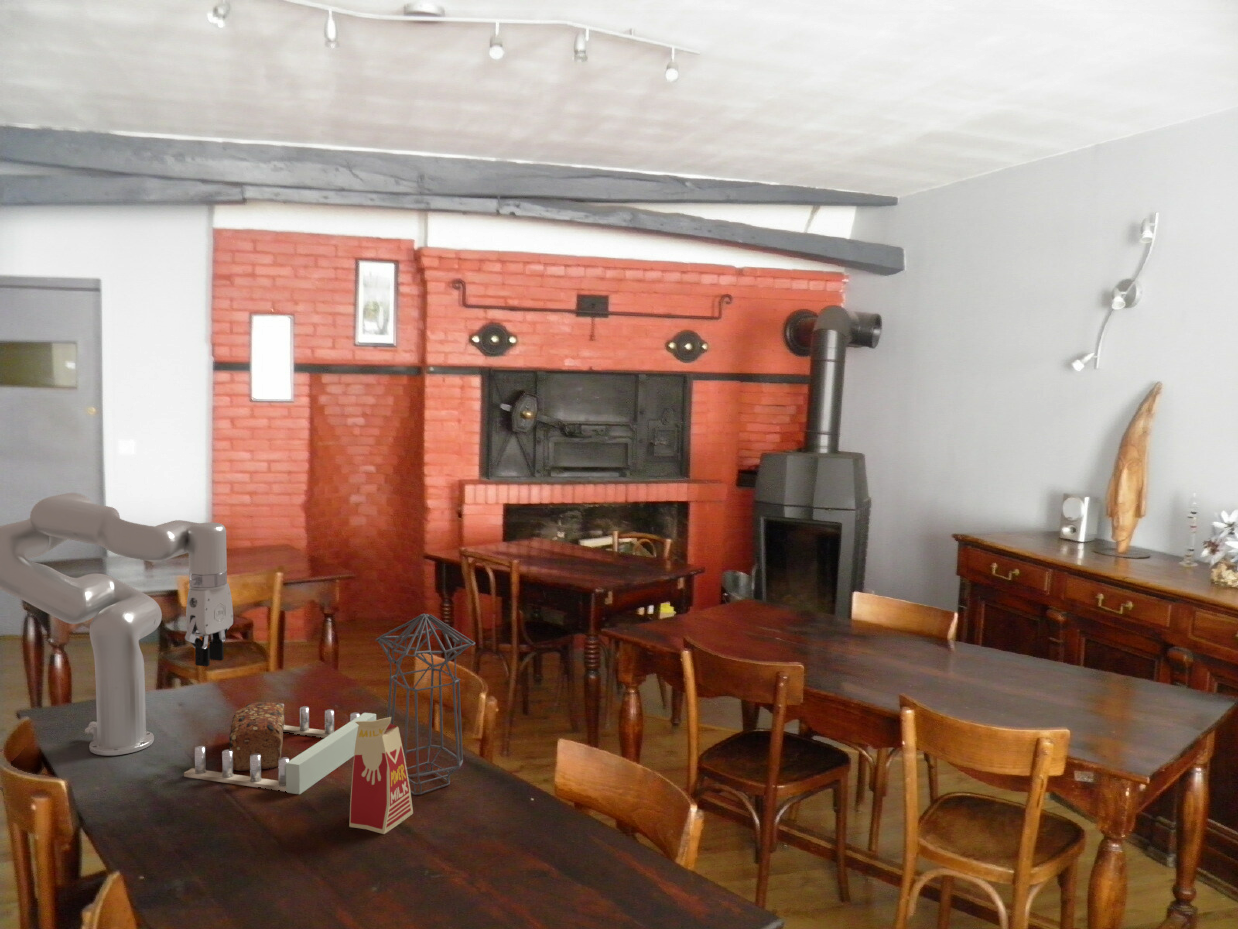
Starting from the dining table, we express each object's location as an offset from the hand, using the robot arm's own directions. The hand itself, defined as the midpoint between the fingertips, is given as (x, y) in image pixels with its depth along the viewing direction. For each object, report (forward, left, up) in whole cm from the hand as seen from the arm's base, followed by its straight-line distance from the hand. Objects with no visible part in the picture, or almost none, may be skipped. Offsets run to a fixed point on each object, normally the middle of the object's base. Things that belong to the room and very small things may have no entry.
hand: (209, 661), depth 208 cm
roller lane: (+18, 0, -19) cm, 26 cm away
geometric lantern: (+53, -3, -19) cm, 57 cm away
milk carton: (+52, -20, -19) cm, 59 cm away
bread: (+12, 0, -20) cm, 23 cm away
